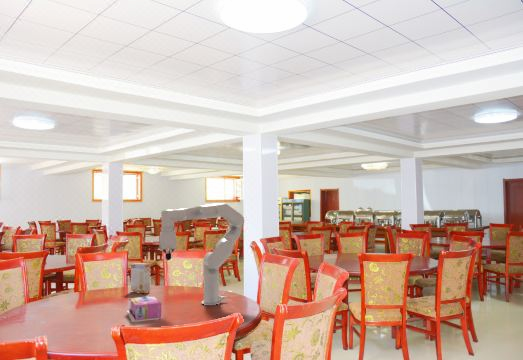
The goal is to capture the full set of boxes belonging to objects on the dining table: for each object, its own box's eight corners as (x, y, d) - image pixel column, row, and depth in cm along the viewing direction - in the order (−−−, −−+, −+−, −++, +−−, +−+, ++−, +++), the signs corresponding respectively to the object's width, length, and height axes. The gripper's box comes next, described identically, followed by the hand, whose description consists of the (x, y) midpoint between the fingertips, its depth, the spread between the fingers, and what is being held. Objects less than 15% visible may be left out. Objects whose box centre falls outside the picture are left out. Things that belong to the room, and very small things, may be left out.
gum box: (152, 308, 247) (128, 311, 241) (152, 294, 247) (128, 297, 241) (161, 317, 225) (135, 320, 219) (161, 302, 226) (135, 305, 220)
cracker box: (150, 292, 300) (150, 263, 301) (143, 294, 295) (144, 264, 296) (136, 291, 307) (137, 262, 309) (130, 292, 302) (130, 263, 304)
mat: (151, 309, 247) (151, 308, 247) (159, 319, 224) (159, 318, 224) (126, 311, 242) (126, 310, 242) (132, 322, 218) (132, 321, 218)
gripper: (178, 229, 264) (178, 258, 262) (154, 230, 257) (154, 260, 256) (181, 229, 257) (182, 259, 255) (156, 230, 250) (157, 261, 249)
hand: (168, 260), depth 256 cm, fingers closed
